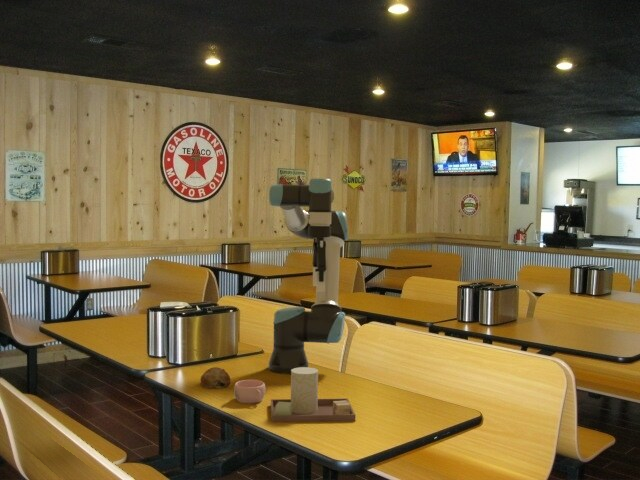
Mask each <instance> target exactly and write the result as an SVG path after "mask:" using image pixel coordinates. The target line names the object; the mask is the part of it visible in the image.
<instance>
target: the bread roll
mask: <svg viewBox="0 0 640 480" xmlns="http://www.w3.org/2000/svg"><path fill="white" fill-rule="evenodd" d="M199 380H200V385H201V386H202V388H206V389H210V390H211V389H212V390H216V389H217V390H219V389H223V388H226V387H229V386H230V384H231V377H230V375H229V373H228V372H227V371H226V369H224V368H221V367H218V366H214V367H210V368H209V369H207V370H205V372H203V374H202V375H201V376H200V379H199Z"/></svg>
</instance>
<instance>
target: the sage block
mask: <svg viewBox="0 0 640 480" xmlns="http://www.w3.org/2000/svg"><path fill="white" fill-rule="evenodd" d="M275 415H292V402H278V403H277V404H276V414H275Z"/></svg>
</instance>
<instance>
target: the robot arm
mask: <svg viewBox="0 0 640 480" xmlns="http://www.w3.org/2000/svg"><path fill="white" fill-rule="evenodd" d="M332 183H333V182H332V180H331V178H310V179H309V184H284V183H282V184H281V183H280V184H279V183H278V184H272V185H271V186H270V187H269V192H268V193H269V196H268V199H269V204H270V206H271V207H280V210H281V212H282V215H283V216H284V217H283V221H284V225H285V228H286V229H287V230H288V231H289V232H291V234H294V235H295V236H297V237H300V238H303V239H306V240H313V242H312V247H313V248H312V249H313V250H312V252H313V253H312V254H313V255H312V262H311V263H312V287H316V288H315V289H316V290H315V302H314V303H313V304H312V305H311V307H310V310H309V311H307V310H306V309H305V307H304V306H290V307H283V308H280V309H278V310H276V311H274V315H273V347H272V348H273V349H272V352H271V355H270V358H269V361H268V370H269V371H271V372H274V373H278V374H291V370H292V369H294V368H299V367H309V361H308V357H307V354H306V351H305V343H314V344H315V343H316V344H317V343H318V344H319V343H320V344H337V343H340V342H341V341H342V338H343V334H344V328H345V319H346V312H344V311H343V310H342V306H340V305H339V285H340V284H339V283H340V266H341V265H340V263H341V261H340V260H341V248H342V247H344V245H345V241H348V239H349V233H348V230H349V229H348V221H347V215H346V213H345V212H344V211H342V210H332V203H333V202H334V198H335V196H334V194H335V193H334V190H333V184H332ZM303 207H306V208H308V210H304V209H303Z"/></svg>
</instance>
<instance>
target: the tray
mask: <svg viewBox="0 0 640 480" xmlns="http://www.w3.org/2000/svg"><path fill="white" fill-rule="evenodd" d="M344 400H346V401H347V402H348V403H349V404H350V414H333V401H344ZM278 402H291V398H289V399H288V398H284V399H281V398H280V399H279V398H278V399H274V398H273V399H272V398H271V399H270V413H271V415H270V417H271V423H311V422H312V423H318V422H319V423H321V422H322V423H323V422H328V423H330V422H356V413H355V411H354V409H353V406H352V404H351V402H350V400H349V398H318V407H317V411H316V412H314V413H310V414H299V413H294V412H292V415H275V414H276V404H277V403H278Z"/></svg>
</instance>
